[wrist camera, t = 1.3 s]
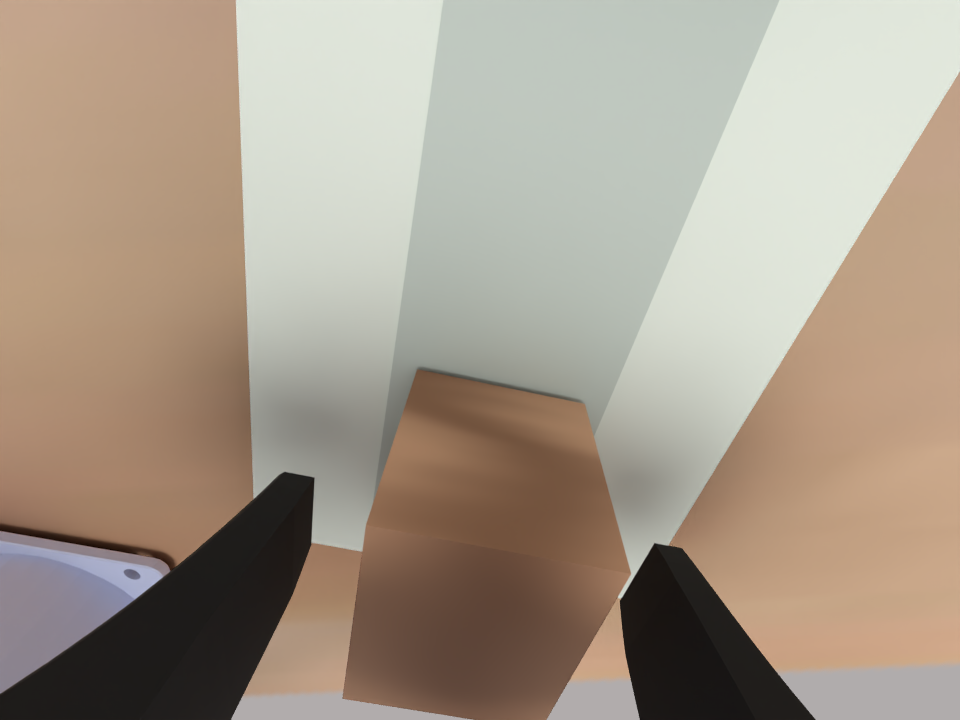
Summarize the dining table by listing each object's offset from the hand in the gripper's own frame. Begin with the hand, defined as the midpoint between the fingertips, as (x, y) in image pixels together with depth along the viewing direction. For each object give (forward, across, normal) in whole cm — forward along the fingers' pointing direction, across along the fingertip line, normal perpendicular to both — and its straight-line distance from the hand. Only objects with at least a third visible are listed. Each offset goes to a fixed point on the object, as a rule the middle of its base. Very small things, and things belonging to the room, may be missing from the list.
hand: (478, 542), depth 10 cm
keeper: (+3, 0, 0) cm, 3 cm away
